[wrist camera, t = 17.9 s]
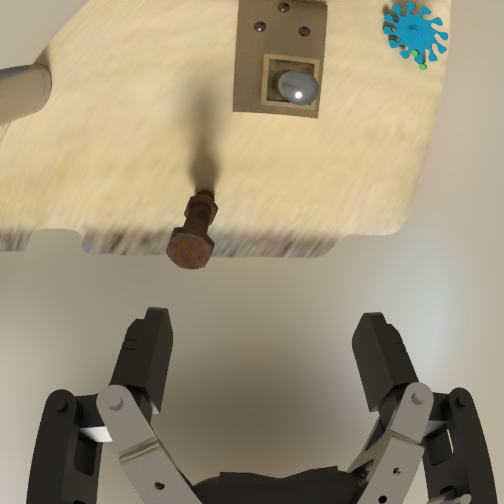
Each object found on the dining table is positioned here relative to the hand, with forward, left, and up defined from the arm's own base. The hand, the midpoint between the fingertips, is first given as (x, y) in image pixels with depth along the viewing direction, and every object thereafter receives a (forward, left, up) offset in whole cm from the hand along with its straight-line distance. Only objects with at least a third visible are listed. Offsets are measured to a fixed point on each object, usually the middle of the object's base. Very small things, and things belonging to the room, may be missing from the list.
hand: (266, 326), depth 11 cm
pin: (+4, +9, -33) cm, 35 cm away
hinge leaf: (+3, +13, -34) cm, 37 cm away
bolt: (-7, -10, -34) cm, 36 cm away
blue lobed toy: (+22, +20, -34) cm, 46 cm away
